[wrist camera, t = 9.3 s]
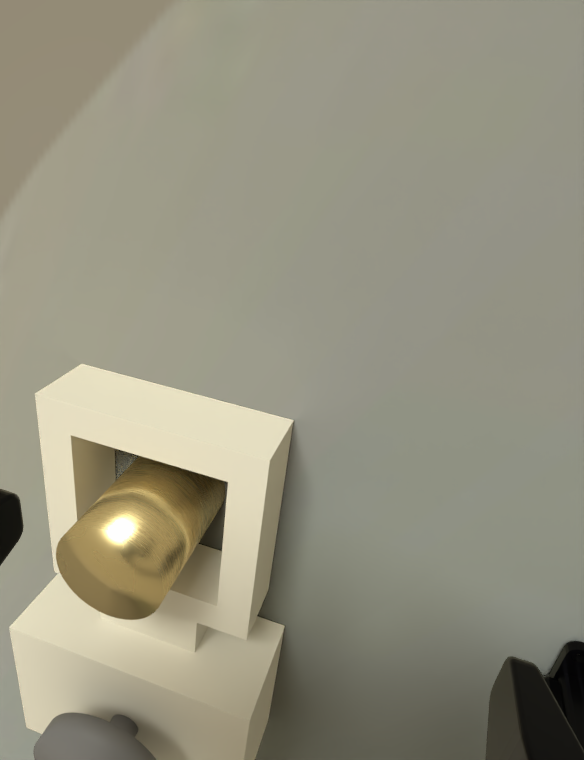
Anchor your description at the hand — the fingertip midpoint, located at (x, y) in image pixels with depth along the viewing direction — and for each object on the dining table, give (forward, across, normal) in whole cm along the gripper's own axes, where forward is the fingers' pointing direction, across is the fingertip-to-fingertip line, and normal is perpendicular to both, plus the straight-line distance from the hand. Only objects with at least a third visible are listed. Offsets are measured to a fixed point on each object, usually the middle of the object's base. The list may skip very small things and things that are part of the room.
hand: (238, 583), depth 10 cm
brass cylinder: (+12, +7, +9) cm, 16 cm away
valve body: (+12, +7, +14) cm, 20 cm away
